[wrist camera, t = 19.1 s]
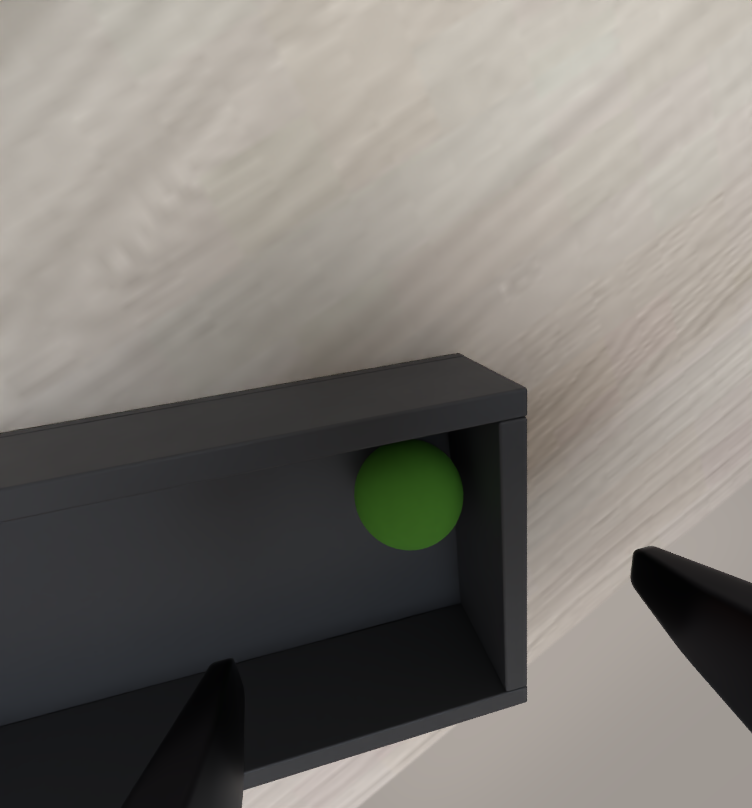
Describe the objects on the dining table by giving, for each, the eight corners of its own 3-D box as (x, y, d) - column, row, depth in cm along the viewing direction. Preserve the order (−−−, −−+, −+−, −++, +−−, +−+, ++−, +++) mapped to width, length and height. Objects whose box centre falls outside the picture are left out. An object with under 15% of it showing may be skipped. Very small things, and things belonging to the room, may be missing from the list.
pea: (426, 496, 16) (488, 544, 13) (345, 530, 15) (394, 594, 12) (418, 413, 15) (485, 446, 12) (329, 442, 13) (380, 488, 10)
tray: (473, 603, 18) (527, 702, 14) (-191, 782, 15) (-383, 987, 11) (459, 352, 14) (528, 387, 10) (-455, 512, 11) (-929, 668, 7)
